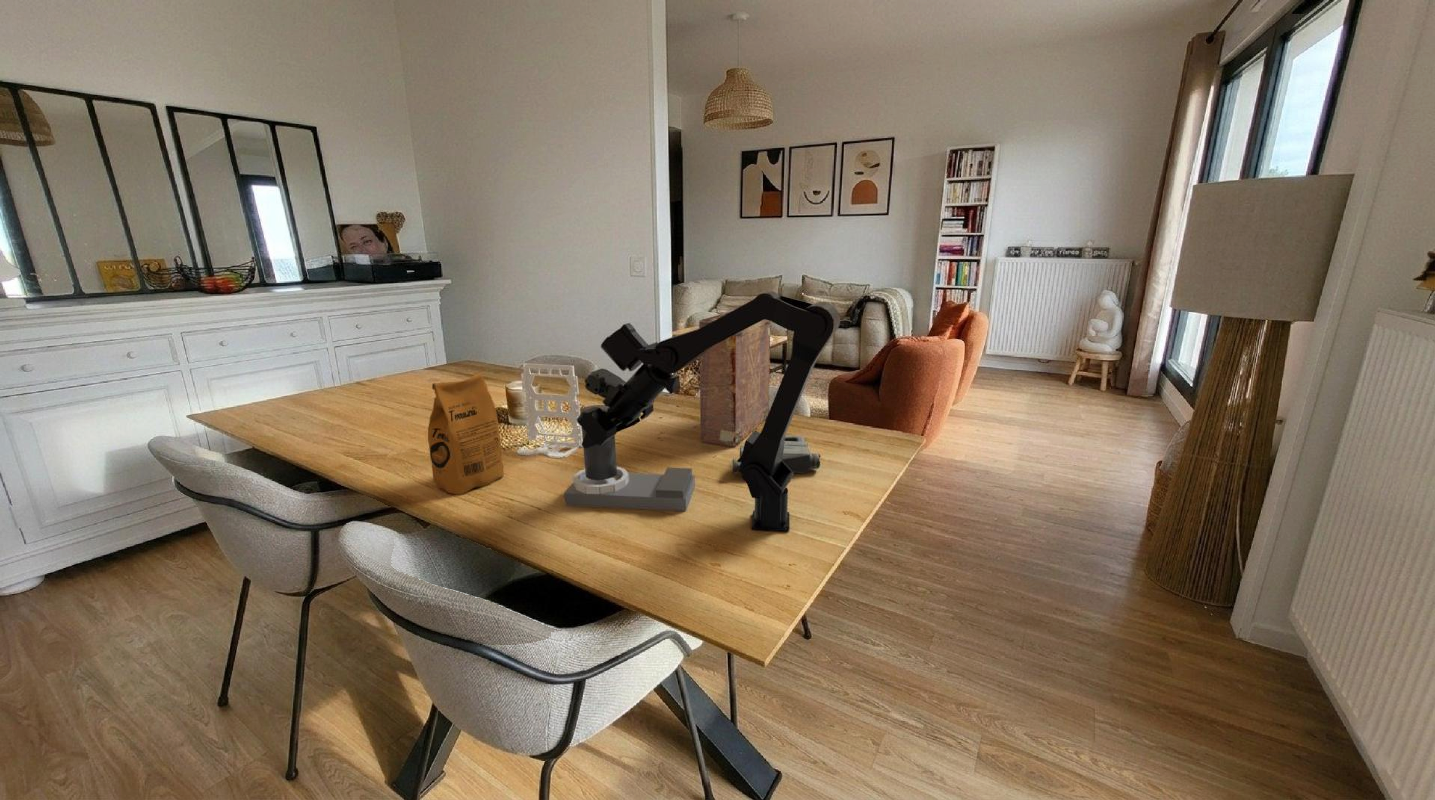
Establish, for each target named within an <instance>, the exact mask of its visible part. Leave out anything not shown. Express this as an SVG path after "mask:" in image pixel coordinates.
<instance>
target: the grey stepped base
mask: <svg viewBox="0 0 1435 800" xmlns="http://www.w3.org/2000/svg"><path fill="white" fill-rule="evenodd" d="M695 478H696V476H695V475H693V468H691V467H689V468H687V467H667V468H666V469H665V471H664V473H643V472H642V473H641V472H640V473H639V472H634V473H633V472H628V471H627V470H626V469H625V468H623V467H620V466H617V474H616V475H615V476H614V477H612V478H609V479H605V480H591V479H588V478H587V477H586V475H585V468H584V469H582V470H579V471H578V472H576V473H575V474H574V476H572V481H573V482H572V484H570V485H569V487H568V488H567V489H566V490H565V491H564V492H563V497H564V506H569V507H588V508H589V507H590V508H591V507H592V508H607V509H608V508H609V509H633V510H649V511H650V510H653V511H673V512H675V511H676V512H687V510H688V507H689V504H690V502H691V499H692V495H693V493H694V491H695V487H696V480H695Z"/></svg>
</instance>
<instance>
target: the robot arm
mask: <svg viewBox="0 0 1435 800" xmlns="http://www.w3.org/2000/svg"><path fill="white" fill-rule="evenodd" d="M730 311H731V310H730ZM764 319H766V320H769V321H770V323H771V322H772V323H774V324H775V325H778V326H779V327H781V328H783V329H785V330H788V331H791V332H793V336H792V341H791V353H790V358H789V361H788V364H787V366H786V369H785V371H784V373H783V376H782V378H781V381H780V384H779V386H778V389H777V392H776V394H775V396H774V399H773V401H772V404H771V406H770V408H769V414H768V416H767V419H766V421H765V422H764V423H763V427H762V429H761V431H760V432H759V431H758V430H757V429H756V430H755V431H753V432H752V433H751V434H750V435H749V436H748V438H746V439H745V442H744V443H743V446H744V448H743V453H742V455H741V457H740V456H739V458H738V459H736V460H737V462H741V463H740V466H739V472H738V473H739V474H740V477H741V478H742V480H743V481H744V482H745V483H746V485H747V488H748V491H749V493H750V496H751V498H752V499H754V509H753V510H752V519H751V525H750V526H751V527H750V529H751V530H754V531H769V532H771V531H774V532H775V531H776V532H789V531H790V528H791V527H790V522H791V521H790V511H788V505H789V504H788V503H789V500H788V499H789V489H788V488H787V486H788V485H789V484H790V482H791V480H792V478H793V476H794V472H793V471H792V470H791V469H790V468H789V467H788V466H787V465H786V464H785V463H784V461H783V460H782V456H783V451H784V443H785V435H787V432H788V429H789V427H790V424H791V422H792V419H793V417H794V415H795V413H796V410H797V408H798V406H799V402H800V400H801V399H802V396H803V393H804V391H805V389H806V387H807V383H808V381H809V379H810V376H811V374H812V372H813V368H814V367H815V365H816V362H817V361H818V359H819V358H820V356H821V355H822V353H823V352H824V351H825V349H826V347H827V346H828V344H829V343H830V341H831V340H832V338H833V336H834V335H835V333H837V331H838V329H839V327H840V324H841V316H840V313H839V311H838V309H837V308H836V307H835V306H834V305H833V304H831V303H829V302H825V301H819V302H815V303H812V302H808V301H805V300H801V299H796V298H793V297H789V296H785V295H783V294H778V292H775V291H766V292H763V293H760V294H757V296H755V298H753V299H752V300H750V301H748V302H747V303H744V304H743V305H741V306H738V307H736V308H735V309H733V311H731V312H729V313H727V314H726V315H724V316H722V317H720V318H718V319H716V320H714V321H713V322H711V323H709V324H707V325H705V326H703V327H701V328H699V327H698V328H696V329H693V330H690V331H686V332H683V333H680V334H677V335H674V336H671V337H668V338H665V339H663V340H661V341H659V342H658V341H657V342H654V343H653V342H652V343H650V344H648V343H647V342H646V340H645V339H644V338H643V337H642V336H641V335H640V334H639V332H637V330H636V328H635V327H634V325H632V324H631V323H630V322H628V323H624V324H622V326H621V327H620V328H619V329H617V330H615V331H614V332H613V333H611V335H609V336H607V337H606V338H605V339H604V340H603V341H602V342H601V345H600V348H601V349H602V351H604V353H605V354H606V355H607V356H608V357H609V358H610V359H611V360H612V362H613V363H614V364H615V365H616V366H617V367H618V368H619V369H620V370H621V371H622V372H625V371H626V370H627V369H628V371H629V372H633V371H634V370H636V369H637V370H636V371H635V372H634V373H633V374H632V376H631V377H630V378H629V379H628V380H627V381H625V379H624V380H623V378H621V377H620V376H619V375H616V374H614V372H612V371H610V370H608V369H606V368H599V369H597V370H593V371H592V372H591V373H590V374H588V376H587V378H585V379H584V388H585V389H586V391H587V392H590V393H591V394H593V395H598V396H600V397H601V398H602V399H603V398H604V399H603V400H602V402H601V403H603V405H606V406H608V407H609V408H608V409H607V410H606V412H607V413H608V414H609V415H606V414H605V413H604V412H603V411H602V410H601V408H598V407H593V408H591V409H588V410H586V411H584V412H583V413H582V414H581V415H580V416H579V417H578V418H577V422H578V425H580V426H581V427H582V428H583V429H584V430H585V431H586V434H585V437H584V439H583V442H582V446H583V447H584V448H585V449H586V448H589V447H592V446H595V445H602V444H604V443H605V442H607V441H609V440H611V439H612V438H614V435H616V434H617V433H619V432H621V431H624V430H626V429H628V428H631V427H633V426H635V425H636V424H638V423H640V422H641V421H643V420H644V419H646V418H648V417H649V416H650V415H651V414H652V413H653V412H654V403H655V399H656V398H657V397H658V396H659V395H661V393H662V392H663V391H664V390H666V391H667V392H668V393H669V394H670V395H672V394H674V393H676V392H677V391H679V390H681V387H682V386H681V383H680V378H681V376H680V375H674V373H675V374H676V373H677V372H679V371H681V370H683V369H685V368H687V367H688V366H691V365H692V364H693V363H695V362H696V361H697V360H699V359H700V357H701V356H702V355H703V354H704V353H706V352H707V351H708V350H709V349H710V348H711V347H713V346H714V345H716V344H718V343H720V342H722V341H724V340H725V339H727V338H729V337H731V336H733V335H735V334H737V333H739V332H741V331H743V330H745V329H747V328H749V327H751V326H753V325H755V324H756V323H758V322H760V321H762V320H764ZM638 367H639V368H638ZM613 420H614V421H613ZM583 447H582V448H583Z"/></svg>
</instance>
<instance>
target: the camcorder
mask: <svg viewBox="0 0 1435 800" xmlns="http://www.w3.org/2000/svg"><path fill="white" fill-rule="evenodd" d="M808 446H809V445H808V442H806V437H805V436H803V435H798V434H797V435H796V434H795V435H794V434H793V435H788V434H786V435H785V443H784V451H783V456H782V460H783V461H784V463H785V464H786V465H787V466H788V467H789V468H790V469H791V470H792V471H793V473H798V474H799V473H800V474H801V473H802V474H805V473H808V472H809V471H810V470H817V469H819V468H820V467H821V461H820V458H821V454H820V453H814V452H810V451H809V450H810V449H809V448H808ZM739 447H740V448H739V458H740V457H741V455H742V453H743V448H744V445H741V446H739ZM737 460H738V459H735V458H732V464H733V465H732V473H731V474H732V475H733V476H734V475H736V474H737V473H739V466H740V463H741V462H737Z"/></svg>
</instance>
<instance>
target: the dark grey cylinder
mask: <svg viewBox="0 0 1435 800" xmlns="http://www.w3.org/2000/svg"><path fill="white" fill-rule="evenodd" d="M593 407H598V408H601V410H602V411H603V412H604V413H605V414H606V415H609V414H608V413H607V412H606V410H607V409H608V408H609V407H608V406H606V405H605V404H593V405H587V406H585V407H582V408H580V415H581V414H582V413H583V412H584V411H586V410H588V409H591V408H593ZM613 421H614V420H613ZM581 432H582V439H584V437H585V434H586V431H585V430H584V429H583V428H582V429H581ZM615 435H616V434H615ZM615 435H614V438H612V439H611V440H609V441H607V442H605V443H604V444H602V445H595V446H592V447H589V448H586V449H585V448H584V447H582V449H583V462H584V469H585V475H586V477H587V478H588V479H591V480H605V479H609V478H612V477H614V476H615V475H616V474H617V467H618V465H617V451H616V448H617V447H616V437H615Z"/></svg>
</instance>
